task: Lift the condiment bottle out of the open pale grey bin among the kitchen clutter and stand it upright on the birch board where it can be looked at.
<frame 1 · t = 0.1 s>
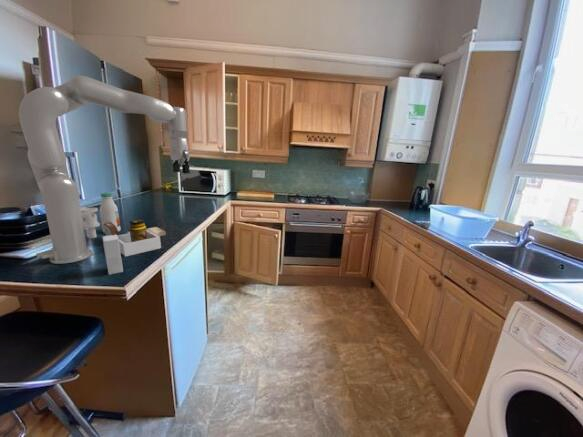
hand: (181, 172, 122), 31 cm above the table, tool pointing down, fingers open, 9 cm apart
board: (146, 235, 126), on the table
condiment: (137, 248, 109), resting in bin
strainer: (92, 237, 121), on the table
milk bottle: (112, 231, 131), on the table
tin: (112, 241, 116), on the table
bin: (137, 247, 109), on the table
skincare box: (115, 271, 87), on the table
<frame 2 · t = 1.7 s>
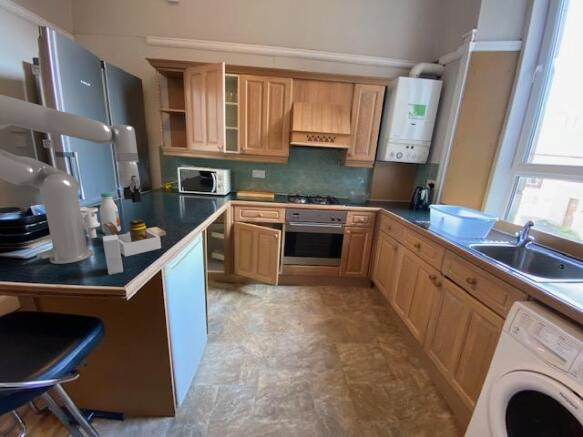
hand: (132, 200, 104), 21 cm above the table, tool pointing down, fingers open, 9 cm apart
nothing on the table moved.
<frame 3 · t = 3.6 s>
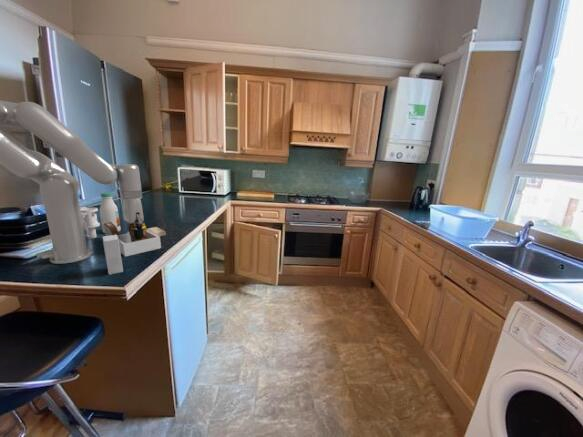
hand: (136, 236, 108), 5 cm above the table, tool pointing down, fingers closed on condiment, 6 cm apart
condiment: (137, 248, 109), resting in bin, touching gripper
everything else where it was.
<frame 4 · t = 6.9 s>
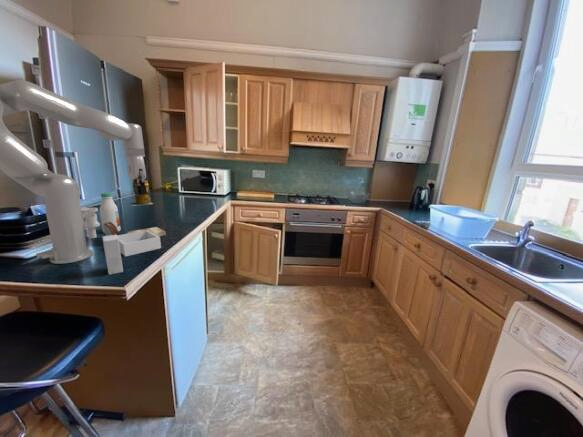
hand: (140, 192, 117), 22 cm above the table, tool pointing down, fingers closed on condiment, 6 cm apart
condiment: (141, 204, 118), point 17 cm above the table, touching gripper
everything else where it was.
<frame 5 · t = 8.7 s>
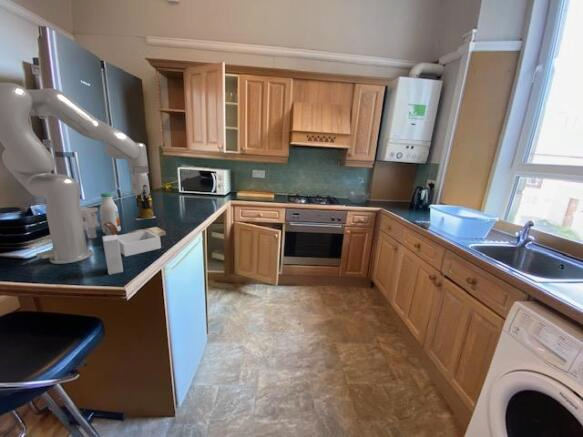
hand: (143, 207, 123), 14 cm above the table, tool pointing down, fingers closed on condiment, 6 cm apart
condiment: (144, 217, 124), point 9 cm above the table, touching gripper
everything else where it was.
when the fingers open (8 cm above the table, at t = 10.2 s): condiment drops 1 cm, resting on board.
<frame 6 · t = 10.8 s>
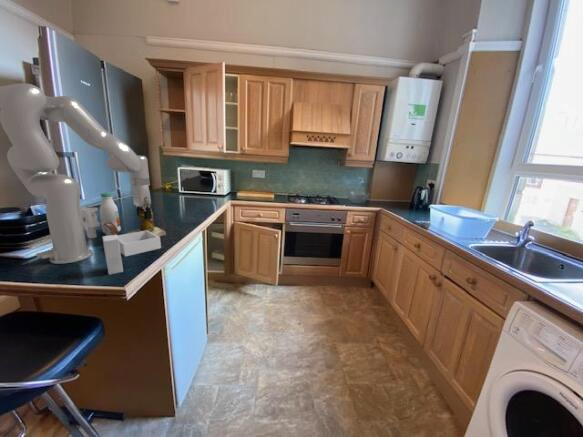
hand: (144, 217, 124), 9 cm above the table, tool pointing down, fingers open, 9 cm apart
condiment: (145, 232, 125), point 2 cm above the table, touching board
everything else where it was.
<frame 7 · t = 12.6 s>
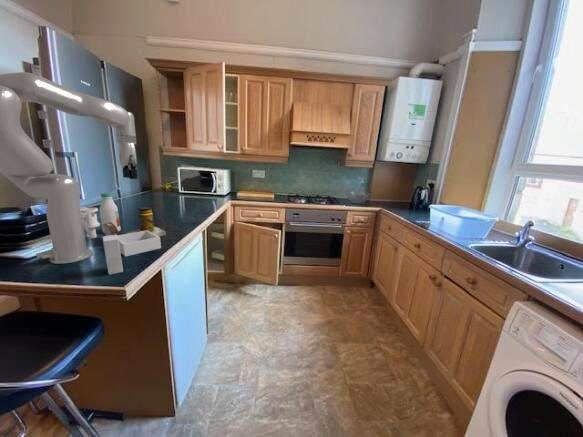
hand: (130, 178, 119), 28 cm above the table, tool pointing down, fingers open, 9 cm apart
nothing on the table moved.
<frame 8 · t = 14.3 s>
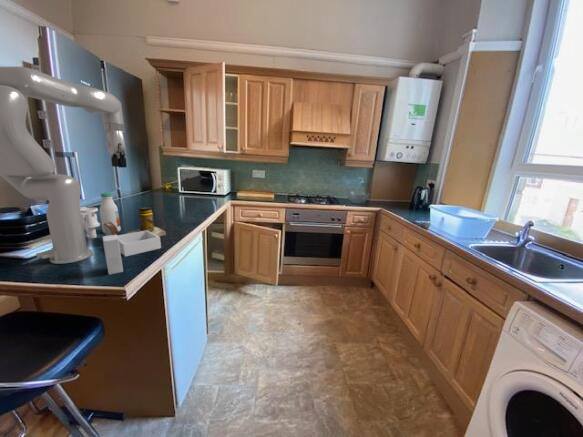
hand: (119, 166, 118), 33 cm above the table, tool pointing down, fingers open, 9 cm apart
nothing on the table moved.
at the end: condiment inside the target area on the board (0.3 cm from its centre), point 1.8 cm above the board's base; condiment tilted 0°; the gripper is holding nothing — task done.
